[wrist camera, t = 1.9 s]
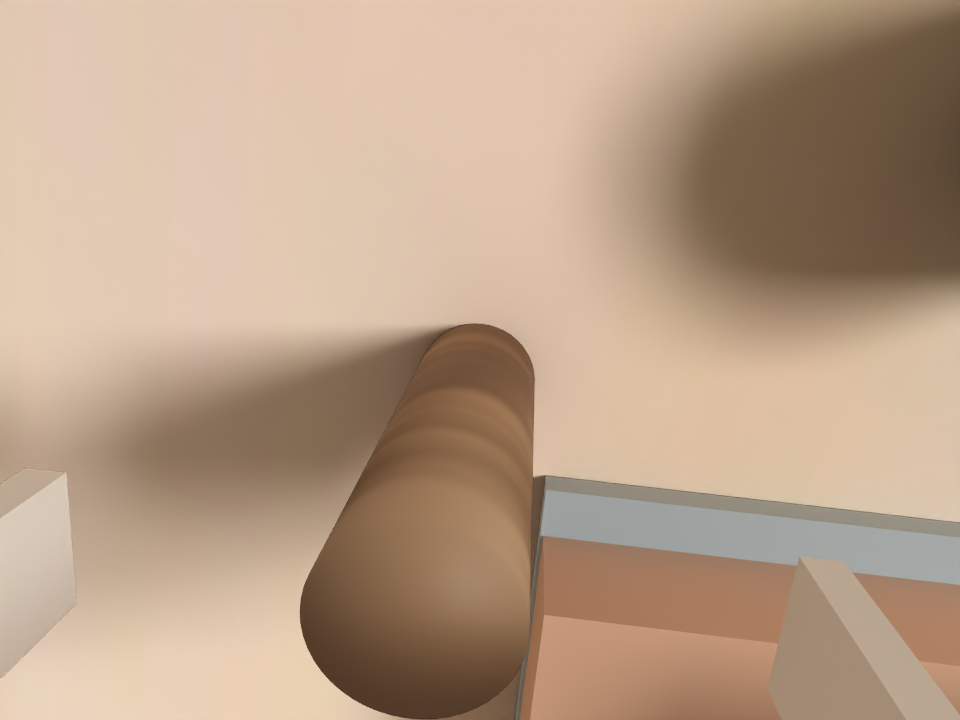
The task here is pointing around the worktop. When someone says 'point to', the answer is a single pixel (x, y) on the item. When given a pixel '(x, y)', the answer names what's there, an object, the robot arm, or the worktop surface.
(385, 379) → the worktop surface
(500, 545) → the peg
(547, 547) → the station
